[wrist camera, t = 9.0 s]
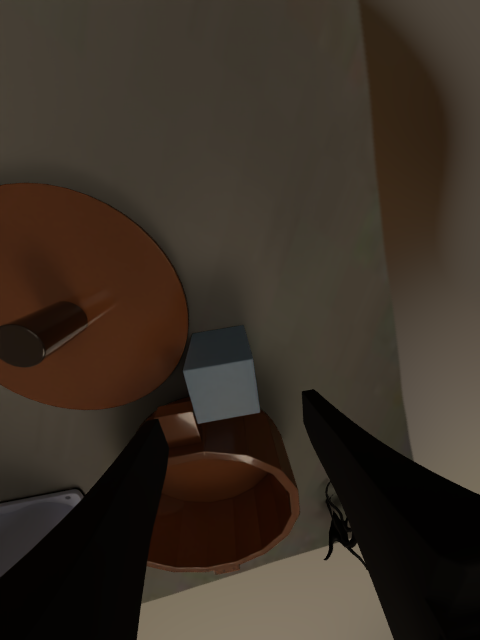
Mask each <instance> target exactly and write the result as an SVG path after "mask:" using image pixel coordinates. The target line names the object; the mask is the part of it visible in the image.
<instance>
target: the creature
mask: <svg viewBox="0 0 480 640" xmlns="http://www.w3.org/2000/svg"><path fill="white" fill-rule="evenodd" d="M330 482H331V481H330ZM330 482H329V483H328V485H327V487H326V491H325V493H326V497H327V500H326V503H327V506H328V508H329V511H330V514H331V517H332V521H331V527H330V530H329V551H328V554H327V556H326V558H325V559H324V560H327V559H328V558H329V557H330V555H331V553H332V551H333V543H334V542H335V541H338V542H340V543H341V544H342V545H343V546H344V547H346V548H347V549H348V550H349V551H350V552H351V553H352V554H353V555H355V556H356V557H357V558H358V559H359V560H360V561H361V562H362V563H363V565H364V566H365V567H366V569H367V566H366V564H365V562H364V561H363V560H362V558H361V557H360V556H359V555H357V554H356V553H355V552H354V551H353V550H352V549H351V548H353V547H354V546H355V545H356V543H357V541H356V538H355V536H354V533H353V531H352V528H349V527H347V522H348V519H347V518H346V521H344V520H343V515H342V513H341V512H340V510H339V509H338V508H337V507H336V506H335V505H334V504H333V503H332V502H331V500H330V499H331V497H330V498H329V496H328V494H327V491H328V486H329V484H330ZM334 494H335V493H334ZM329 504H330V505H331V506H332V507H333V508H334V509H335V510H336V511H337V512H338V513H339V515H340V518H341V520H340V519H339V518H338V516H337V514H336V513H335V512H334V511H333V516H332V511H331V507H330V505H329ZM347 532H352V538H351V540H350V541H349V540H348V534H347ZM367 570H368V569H367Z"/></svg>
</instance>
